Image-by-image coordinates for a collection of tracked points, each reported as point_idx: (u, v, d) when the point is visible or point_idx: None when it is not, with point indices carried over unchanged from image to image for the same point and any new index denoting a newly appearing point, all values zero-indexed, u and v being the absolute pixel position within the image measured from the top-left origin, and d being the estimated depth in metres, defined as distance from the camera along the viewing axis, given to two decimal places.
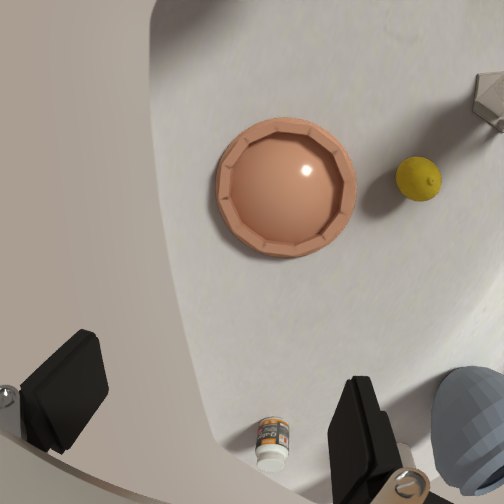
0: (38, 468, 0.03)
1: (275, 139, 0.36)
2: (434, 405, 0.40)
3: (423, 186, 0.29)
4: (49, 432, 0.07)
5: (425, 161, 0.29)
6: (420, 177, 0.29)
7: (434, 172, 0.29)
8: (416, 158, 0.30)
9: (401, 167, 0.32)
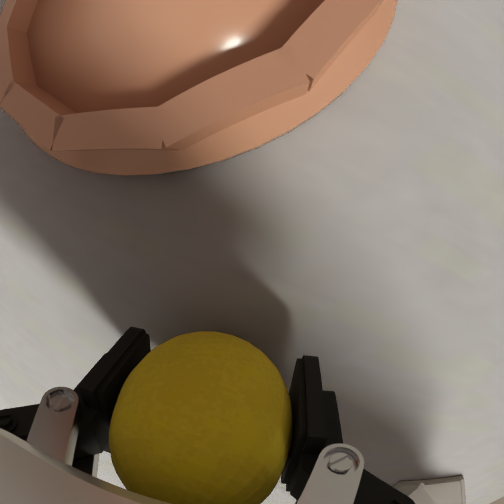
0: (38, 468, 0.03)
1: None
2: None
3: (140, 487, 0.05)
4: (105, 431, 0.07)
5: (266, 487, 0.06)
6: (176, 487, 0.05)
7: None
8: (281, 442, 0.07)
9: (236, 373, 0.07)
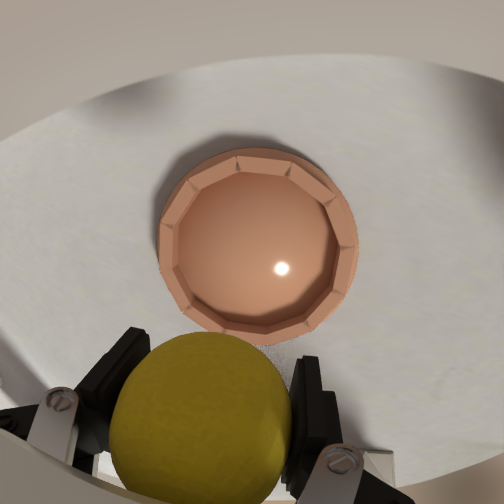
0: (38, 468, 0.03)
1: (327, 240, 0.25)
2: None
3: (140, 488, 0.05)
4: (105, 431, 0.07)
5: (266, 488, 0.06)
6: (176, 487, 0.05)
7: None
8: (281, 442, 0.07)
9: (236, 373, 0.07)
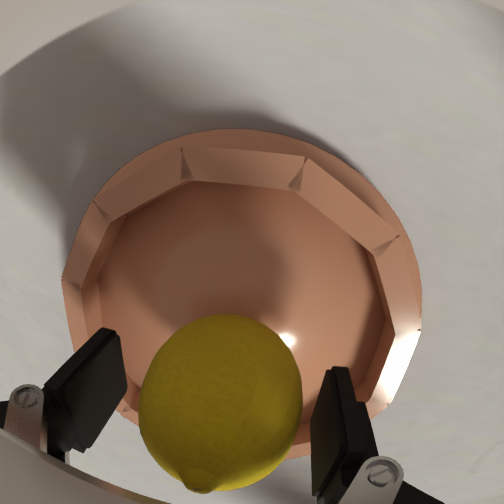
0: (38, 468, 0.03)
1: (368, 313, 0.13)
2: None
3: (169, 452, 0.06)
4: (72, 430, 0.07)
5: (281, 450, 0.07)
6: (204, 447, 0.06)
7: (238, 486, 0.07)
8: (294, 408, 0.08)
9: (254, 346, 0.09)
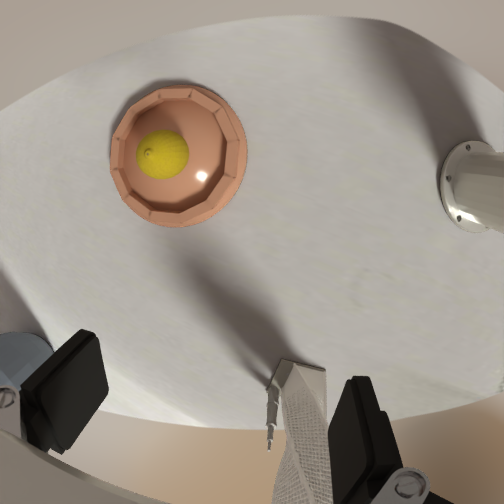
0: (38, 468, 0.03)
1: (222, 141, 0.34)
2: (17, 333, 0.41)
3: (143, 146, 0.27)
4: (49, 431, 0.07)
5: (173, 149, 0.28)
6: (152, 141, 0.27)
7: (159, 158, 0.28)
8: (179, 143, 0.29)
9: (171, 131, 0.30)
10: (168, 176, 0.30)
